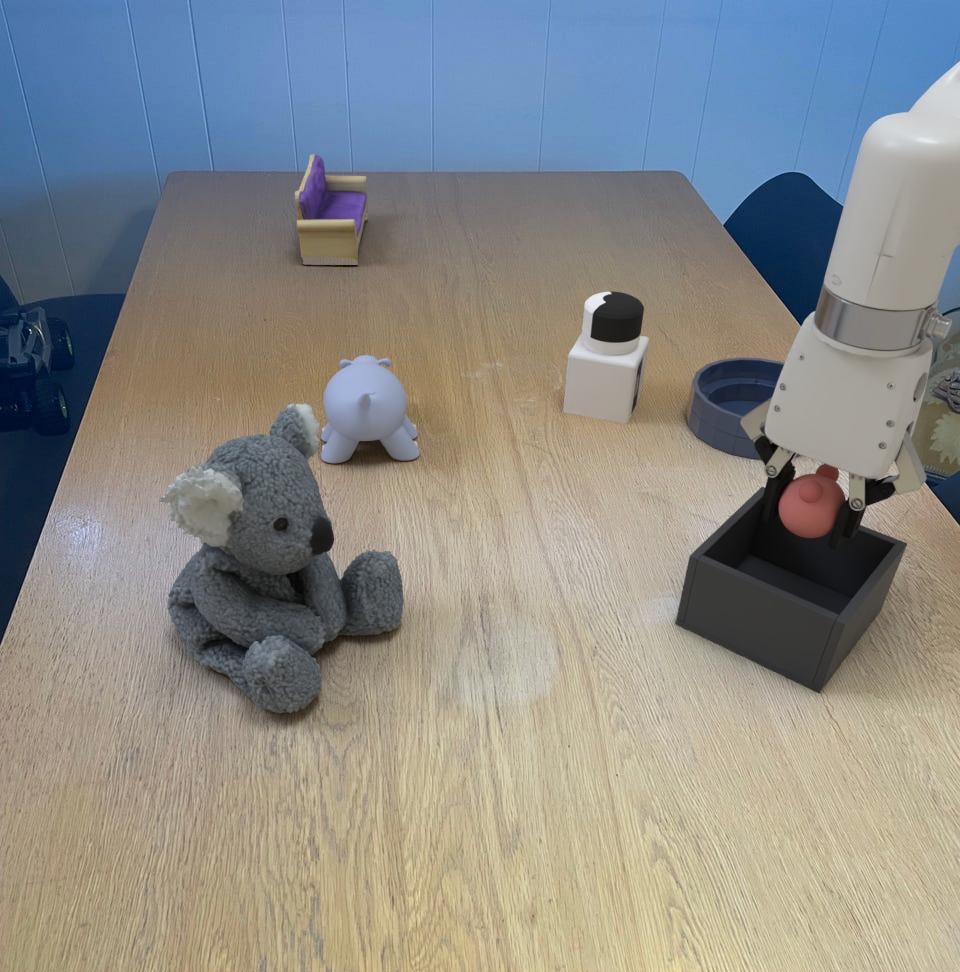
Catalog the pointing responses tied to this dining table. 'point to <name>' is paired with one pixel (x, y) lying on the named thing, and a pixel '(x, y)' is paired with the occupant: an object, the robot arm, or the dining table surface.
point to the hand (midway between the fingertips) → (806, 525)
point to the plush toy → (812, 503)
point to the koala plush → (271, 567)
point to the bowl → (730, 401)
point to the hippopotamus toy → (366, 411)
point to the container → (607, 359)
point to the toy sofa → (330, 212)
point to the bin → (786, 592)
